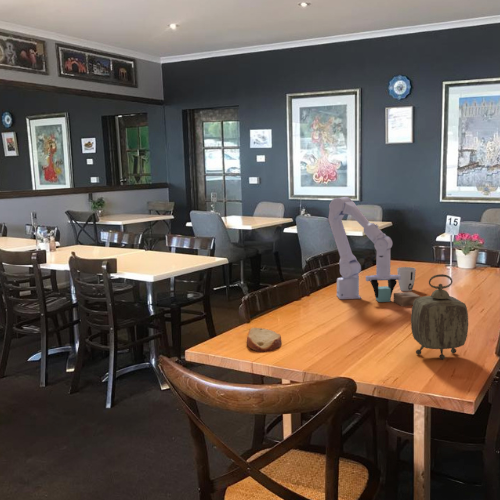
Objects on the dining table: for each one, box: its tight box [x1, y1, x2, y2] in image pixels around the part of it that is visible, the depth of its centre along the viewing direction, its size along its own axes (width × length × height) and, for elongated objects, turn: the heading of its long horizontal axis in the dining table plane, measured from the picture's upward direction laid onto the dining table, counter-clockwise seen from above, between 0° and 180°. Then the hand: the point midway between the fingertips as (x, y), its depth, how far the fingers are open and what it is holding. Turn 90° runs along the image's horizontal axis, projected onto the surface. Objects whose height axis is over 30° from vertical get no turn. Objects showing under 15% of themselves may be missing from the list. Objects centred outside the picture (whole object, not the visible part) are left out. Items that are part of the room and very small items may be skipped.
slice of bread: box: [246, 327, 282, 353], centre depth 184 cm, size 18×18×4 cm
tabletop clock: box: [410, 273, 469, 361], centre depth 162 cm, size 14×9×25 cm, turn 92°
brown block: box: [393, 291, 421, 307], centre depth 229 cm, size 8×8×4 cm
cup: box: [396, 266, 416, 292], centre depth 253 cm, size 8×8×10 cm
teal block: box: [375, 285, 392, 303], centre depth 234 cm, size 5×5×6 cm
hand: (383, 297), depth 234 cm, fingers closed on teal block, 5 cm apart
